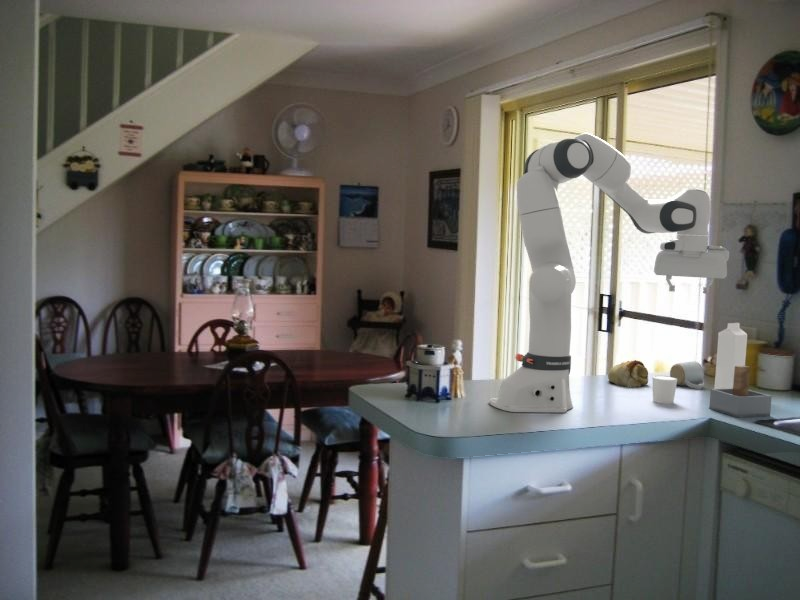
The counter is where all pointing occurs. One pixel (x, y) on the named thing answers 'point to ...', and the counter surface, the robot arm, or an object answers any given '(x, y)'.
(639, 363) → the pastry
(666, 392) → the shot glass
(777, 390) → the counter surface
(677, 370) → the ceramic mug
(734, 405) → the grey storage tray
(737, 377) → the brown wooden block
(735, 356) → the milk
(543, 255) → the robot arm
